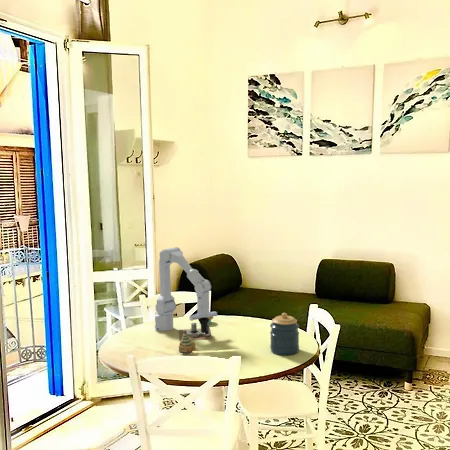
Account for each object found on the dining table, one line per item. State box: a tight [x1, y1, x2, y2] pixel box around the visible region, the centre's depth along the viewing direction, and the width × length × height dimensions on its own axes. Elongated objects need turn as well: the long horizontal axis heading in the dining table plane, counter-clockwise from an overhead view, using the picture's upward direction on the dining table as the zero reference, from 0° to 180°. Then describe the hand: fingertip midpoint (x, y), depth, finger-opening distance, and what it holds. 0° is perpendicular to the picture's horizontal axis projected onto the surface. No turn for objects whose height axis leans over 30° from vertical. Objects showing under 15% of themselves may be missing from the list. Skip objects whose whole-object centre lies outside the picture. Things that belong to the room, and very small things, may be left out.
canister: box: [269, 312, 300, 356], centre depth 219 cm, size 13×13×18 cm
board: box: [178, 327, 213, 342], centre depth 242 cm, size 16×18×1 cm
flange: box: [183, 324, 210, 337], centre depth 241 cm, size 12×8×6 cm, turn 65°
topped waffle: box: [178, 331, 196, 355], centre depth 221 cm, size 8×6×10 cm
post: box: [190, 322, 198, 333], centre depth 242 cm, size 3×3×6 cm
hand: (203, 332), depth 237 cm, fingers closed
